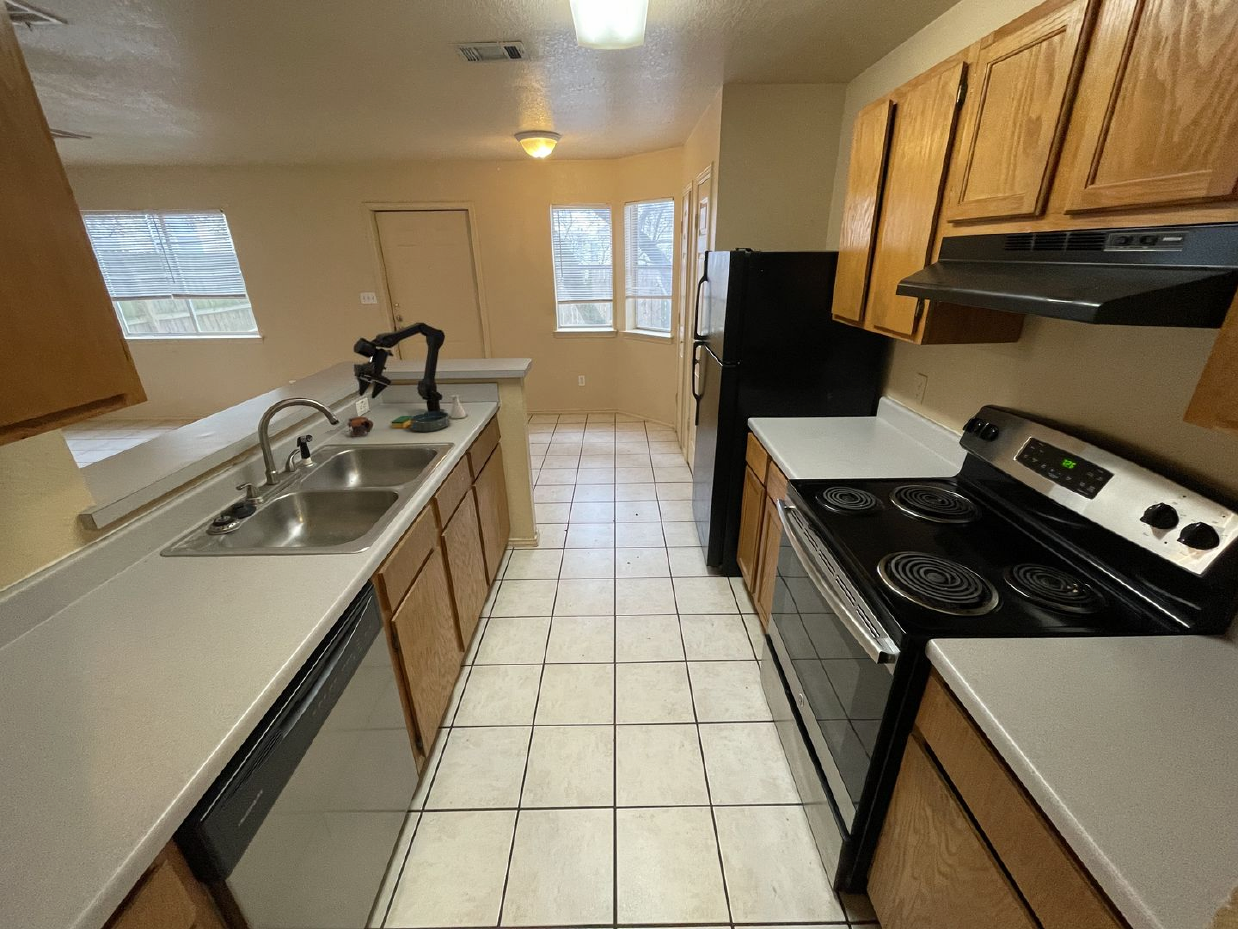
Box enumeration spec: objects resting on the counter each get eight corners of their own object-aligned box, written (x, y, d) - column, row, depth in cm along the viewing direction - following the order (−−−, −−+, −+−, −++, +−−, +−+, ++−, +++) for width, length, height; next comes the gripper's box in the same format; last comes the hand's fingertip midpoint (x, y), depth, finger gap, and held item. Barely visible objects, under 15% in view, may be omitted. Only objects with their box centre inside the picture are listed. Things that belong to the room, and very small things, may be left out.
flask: (463, 418, 231) (460, 397, 228) (448, 419, 232) (444, 397, 228) (468, 414, 238) (465, 393, 234) (453, 414, 238) (449, 393, 234)
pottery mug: (343, 438, 212) (341, 419, 213) (360, 441, 221) (358, 423, 222) (367, 432, 209) (364, 413, 210) (383, 435, 218) (381, 416, 219)
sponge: (403, 421, 230) (401, 415, 229) (414, 421, 229) (413, 415, 228) (392, 428, 222) (391, 421, 220) (404, 428, 221) (403, 421, 220)
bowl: (422, 420, 230) (420, 411, 228) (456, 421, 228) (454, 411, 226) (404, 432, 215) (402, 422, 214) (440, 432, 213) (438, 422, 212)
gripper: (348, 353, 214) (336, 388, 212) (373, 356, 204) (360, 393, 202) (372, 363, 223) (361, 396, 222) (397, 367, 213) (385, 402, 212)
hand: (366, 396), depth 214 cm, fingers open, 9 cm apart
